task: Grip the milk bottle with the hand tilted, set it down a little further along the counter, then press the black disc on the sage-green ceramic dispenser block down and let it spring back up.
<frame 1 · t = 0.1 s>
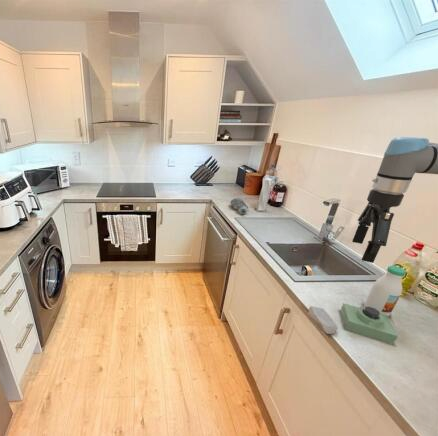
hand: (361, 251, 80), 29 cm above the worktop, tool pointing down, fingers open, 13 cm apart
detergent: (239, 210, 192), on the worktop
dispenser: (364, 326, 86), on the worktop
soap bar: (320, 323, 88), on the worktop
milk bottle: (375, 310, 93), on the worktop
black disc: (371, 312, 84), point 7 cm above the worktop, slide at 0.1 cm
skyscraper: (260, 210, 193), on the worktop
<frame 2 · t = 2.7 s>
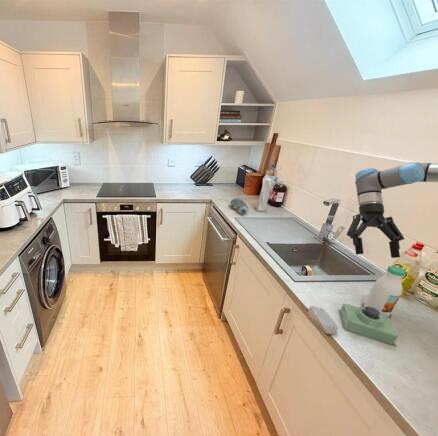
hand: (377, 255, 93), 20 cm above the worktop, tool tilted 40°, fingers open, 13 cm apart
nothing on the worktop moved.
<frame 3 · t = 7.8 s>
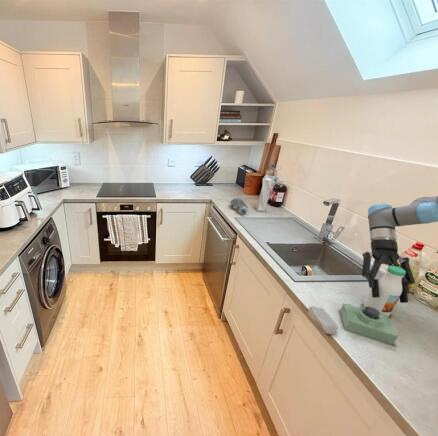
hand: (389, 299, 87), 9 cm above the worktop, tool tilted 45°, fingers closed on milk bottle, 8 cm apart
milk bottle: (375, 310, 93), on the worktop, touching gripper
everything else where it was.
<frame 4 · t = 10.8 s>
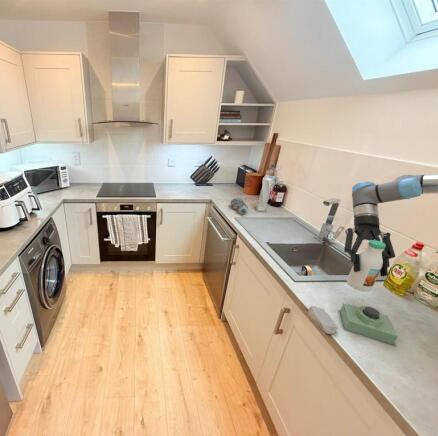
hand: (370, 273, 88), 17 cm above the worktop, tool tilted 45°, fingers closed on milk bottle, 8 cm apart
milk bottle: (357, 286, 95), point 8 cm above the worktop, touching gripper
everything else where it was.
when the fingers open (9 cm above the worktop, at t = 13.8 s): milk bottle stays where it is, on the worktop.
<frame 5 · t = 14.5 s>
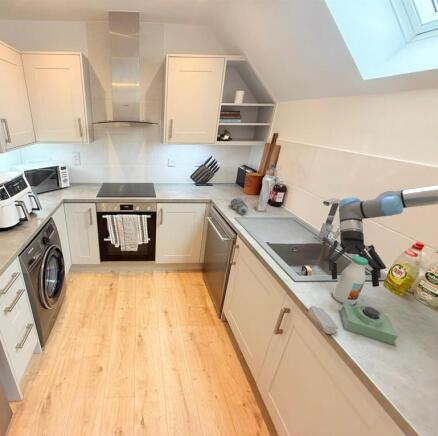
hand: (354, 282, 93), 10 cm above the worktop, tool tilted 45°, fingers open, 13 cm apart
milk bottle: (343, 299, 99), on the worktop
everything else where it was.
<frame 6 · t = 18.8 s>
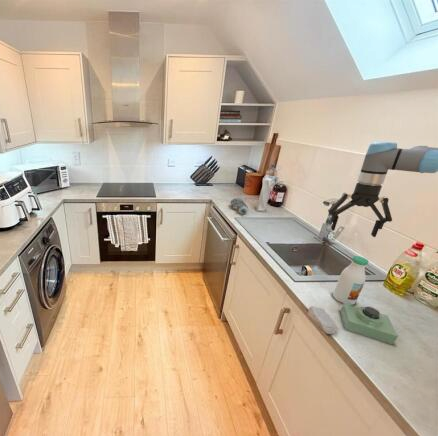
hand: (352, 232, 100), 25 cm above the worktop, tool pointing down, fingers open, 13 cm apart
nothing on the worktop moved.
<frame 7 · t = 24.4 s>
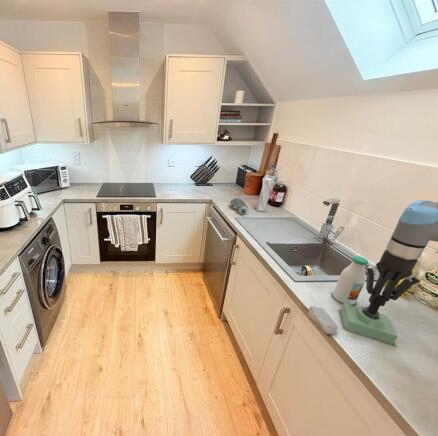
hand: (372, 310, 83), 8 cm above the worktop, tool pointing down, fingers closed
black disc: (371, 313, 84), point 6 cm above the worktop, slide at -0.2 cm, touching gripper
everything else where it was.
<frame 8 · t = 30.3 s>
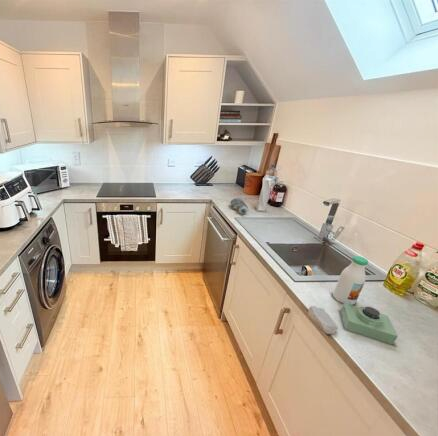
black disc: (371, 312, 84), point 7 cm above the worktop, slide at 0.1 cm
everything else where it was.
at the end: milk bottle inside the target area (0.0 cm from its centre), on the worktop; black disc pushed in 1.2 cm at the most during the clip, back to where it started at the end; black disc slide at 0.1 cm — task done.
